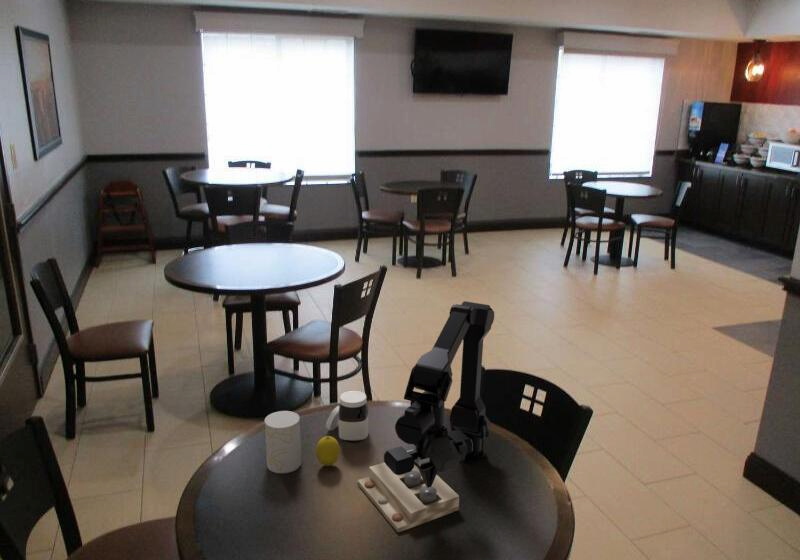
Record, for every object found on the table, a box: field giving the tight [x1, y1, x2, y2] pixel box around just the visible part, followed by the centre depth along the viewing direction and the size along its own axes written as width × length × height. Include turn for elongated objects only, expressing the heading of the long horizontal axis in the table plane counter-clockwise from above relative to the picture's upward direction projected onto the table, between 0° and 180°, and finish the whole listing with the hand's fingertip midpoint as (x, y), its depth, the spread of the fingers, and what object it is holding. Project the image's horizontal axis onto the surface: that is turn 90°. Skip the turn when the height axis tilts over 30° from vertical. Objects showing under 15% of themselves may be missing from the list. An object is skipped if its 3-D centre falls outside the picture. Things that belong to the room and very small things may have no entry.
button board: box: [357, 461, 460, 533], centre depth 137 cm, size 15×19×4 cm
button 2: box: [420, 486, 437, 505], centre depth 131 cm, size 4×4×2 cm
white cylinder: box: [264, 410, 302, 474], centre depth 147 cm, size 8×8×12 cm
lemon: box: [316, 435, 341, 467], centre depth 147 cm, size 6×6×8 cm
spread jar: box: [325, 390, 369, 445], centre depth 161 cm, size 12×11×12 cm
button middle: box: [404, 470, 421, 488], centre depth 137 cm, size 4×4×2 cm
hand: (428, 486), depth 131 cm, fingers closed
